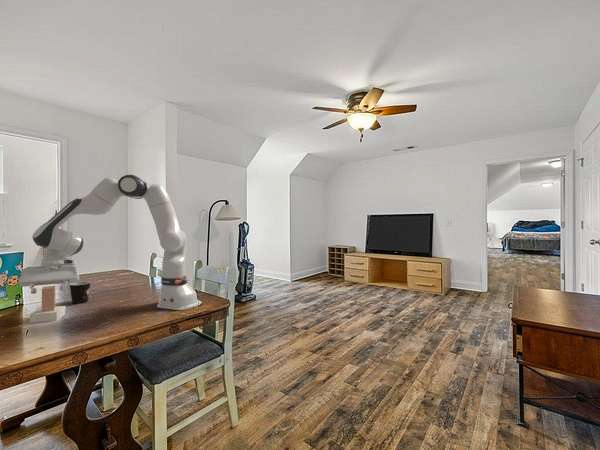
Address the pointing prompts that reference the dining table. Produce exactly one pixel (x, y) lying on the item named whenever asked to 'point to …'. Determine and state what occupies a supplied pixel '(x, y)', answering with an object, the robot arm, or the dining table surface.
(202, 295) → the dining table surface
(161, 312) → the dining table surface
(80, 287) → the coffee mug
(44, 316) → the cream block
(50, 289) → the tan rectangular block
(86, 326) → the dining table surface
